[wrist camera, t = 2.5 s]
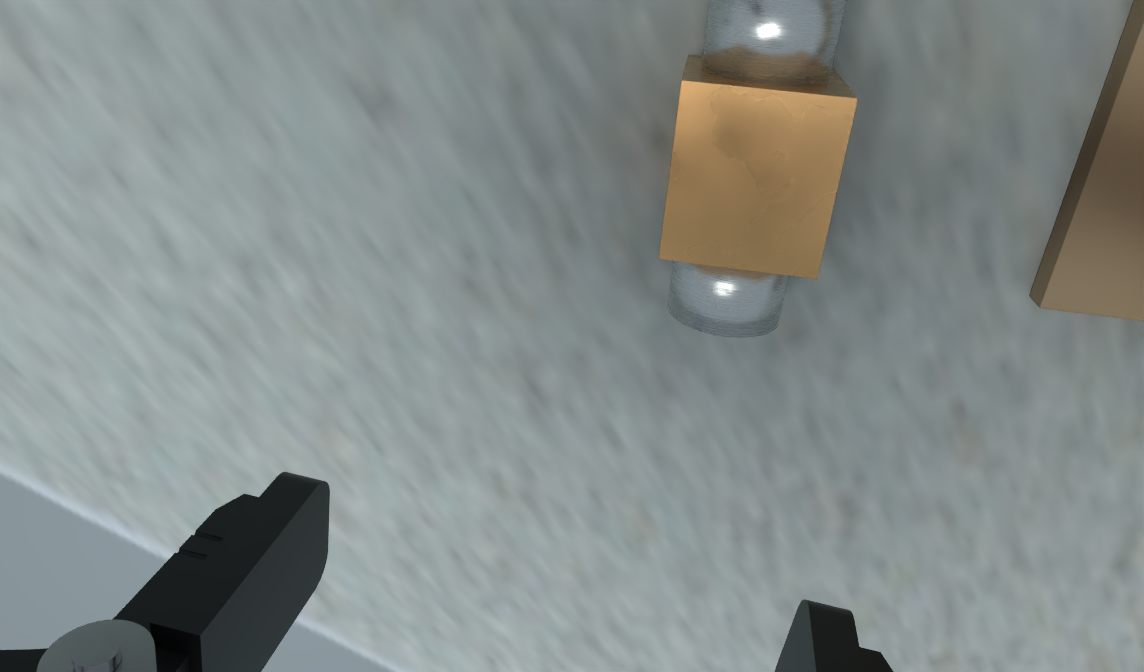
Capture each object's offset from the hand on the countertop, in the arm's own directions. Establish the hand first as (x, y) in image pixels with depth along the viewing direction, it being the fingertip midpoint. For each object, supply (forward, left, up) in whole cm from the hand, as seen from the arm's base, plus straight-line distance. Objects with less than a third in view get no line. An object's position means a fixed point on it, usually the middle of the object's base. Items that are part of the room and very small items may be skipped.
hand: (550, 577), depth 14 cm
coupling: (-4, +3, -17) cm, 18 cm away
